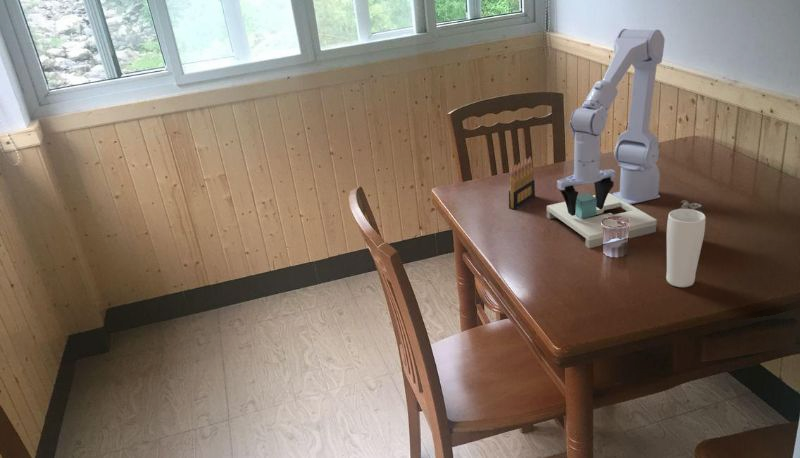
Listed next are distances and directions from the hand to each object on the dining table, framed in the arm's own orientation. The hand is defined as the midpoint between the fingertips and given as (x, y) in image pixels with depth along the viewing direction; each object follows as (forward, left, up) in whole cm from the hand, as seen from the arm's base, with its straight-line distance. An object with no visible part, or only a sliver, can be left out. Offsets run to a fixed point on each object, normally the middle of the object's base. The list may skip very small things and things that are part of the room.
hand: (585, 210), depth 151 cm
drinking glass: (-3, +31, -5) cm, 31 cm away
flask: (-14, +18, -5) cm, 23 cm away
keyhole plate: (-4, 0, -4) cm, 6 cm away
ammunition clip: (+6, -22, -5) cm, 23 cm away
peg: (0, 0, -4) cm, 5 cm away
